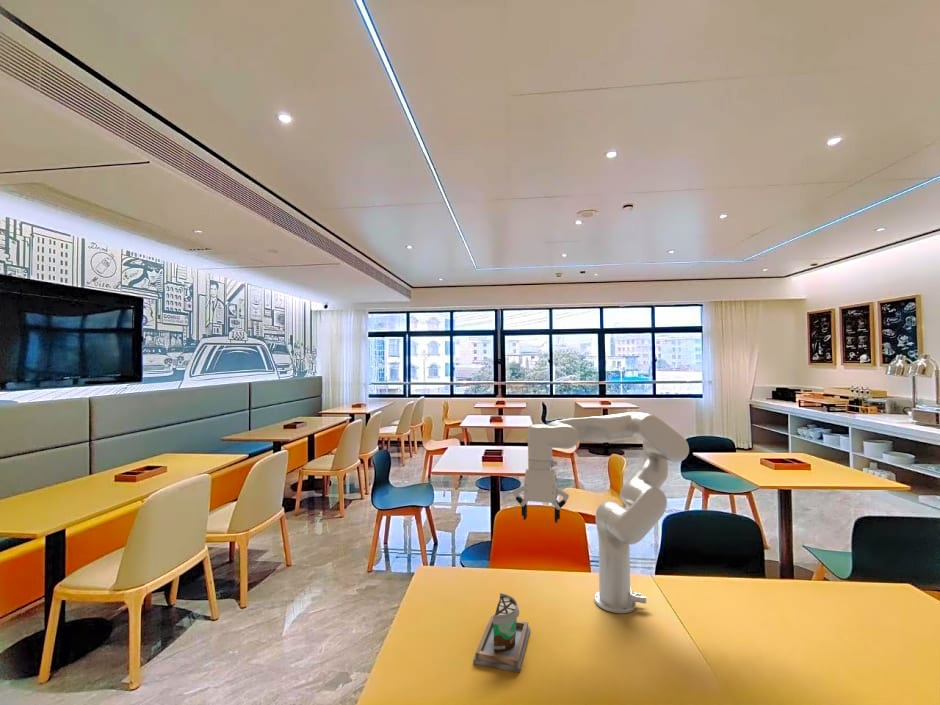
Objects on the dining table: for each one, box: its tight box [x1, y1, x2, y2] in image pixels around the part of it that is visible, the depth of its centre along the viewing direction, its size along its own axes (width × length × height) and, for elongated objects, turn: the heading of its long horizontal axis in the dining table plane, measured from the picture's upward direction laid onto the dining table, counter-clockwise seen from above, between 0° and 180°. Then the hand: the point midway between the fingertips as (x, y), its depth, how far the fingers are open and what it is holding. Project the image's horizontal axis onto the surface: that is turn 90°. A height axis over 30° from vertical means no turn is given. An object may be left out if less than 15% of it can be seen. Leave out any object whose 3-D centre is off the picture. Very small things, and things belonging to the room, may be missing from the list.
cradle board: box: [472, 615, 531, 674], centre depth 116 cm, size 12×18×2 cm, turn 164°
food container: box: [492, 592, 520, 652], centre depth 116 cm, size 12×6×10 cm, turn 167°
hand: (540, 519), depth 133 cm, fingers open, 9 cm apart
